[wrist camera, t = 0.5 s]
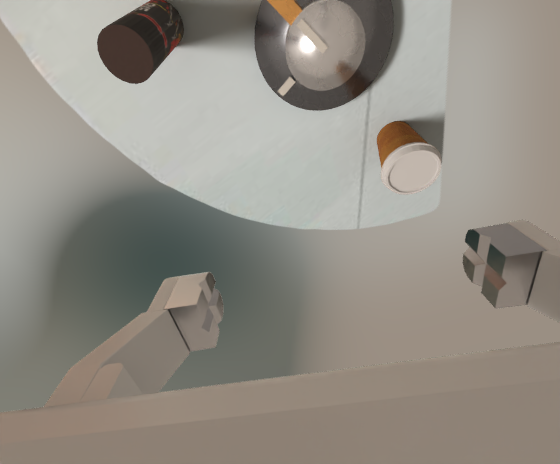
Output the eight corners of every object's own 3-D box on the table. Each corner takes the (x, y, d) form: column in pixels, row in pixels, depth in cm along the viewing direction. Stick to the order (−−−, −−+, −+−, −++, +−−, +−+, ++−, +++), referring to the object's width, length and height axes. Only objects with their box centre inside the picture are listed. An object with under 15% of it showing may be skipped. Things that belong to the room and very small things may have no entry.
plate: (325, -100, 35) (327, -101, 34) (416, 32, 45) (421, 36, 43) (229, 46, 46) (227, 51, 44) (319, 127, 55) (320, 133, 54)
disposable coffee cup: (430, 118, 54) (457, 154, 46) (403, 162, 61) (422, 201, 52) (382, 106, 53) (401, 141, 44) (360, 153, 59) (372, 191, 51)
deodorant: (168, -9, 41) (130, 15, 31) (191, 39, 45) (163, 74, 35) (133, 8, 43) (84, 36, 32) (157, 53, 47) (121, 90, 36)
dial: (376, 39, 43) (382, 46, 41) (321, 97, 49) (323, 106, 47) (280, -83, 35) (280, -83, 32) (227, 6, 41) (224, 11, 38)
